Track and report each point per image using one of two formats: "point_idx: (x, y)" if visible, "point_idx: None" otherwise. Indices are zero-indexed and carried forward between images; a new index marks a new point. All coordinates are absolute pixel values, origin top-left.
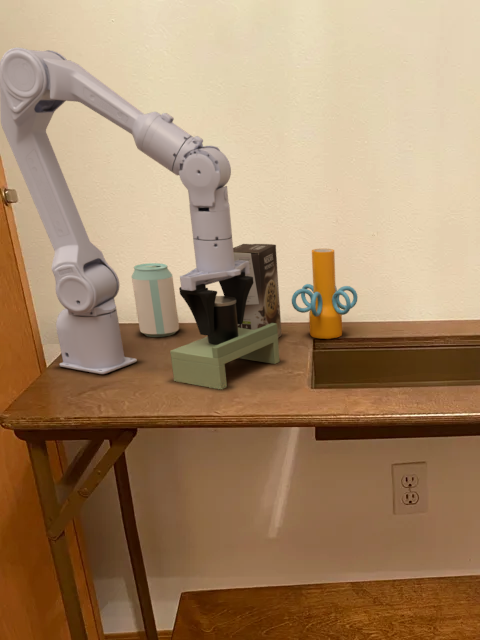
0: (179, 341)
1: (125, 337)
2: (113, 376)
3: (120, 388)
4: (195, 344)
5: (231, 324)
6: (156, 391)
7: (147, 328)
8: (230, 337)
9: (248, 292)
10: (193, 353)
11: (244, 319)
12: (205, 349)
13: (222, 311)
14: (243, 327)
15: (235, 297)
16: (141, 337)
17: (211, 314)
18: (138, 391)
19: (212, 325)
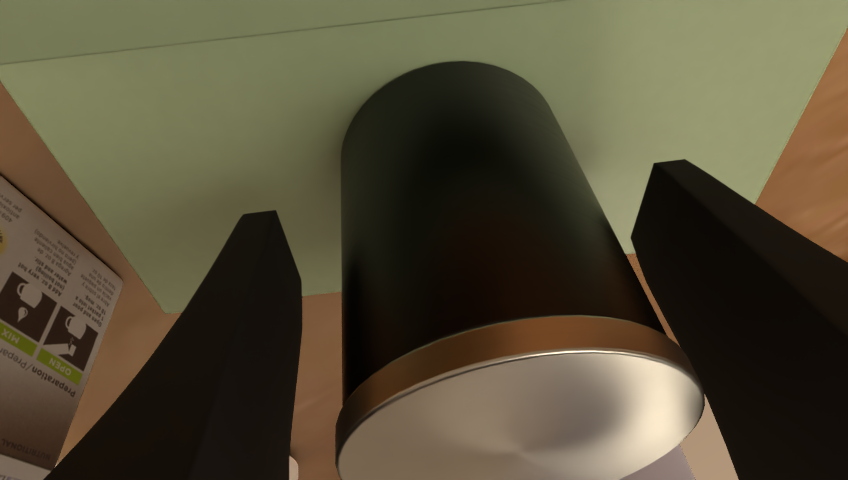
0: None
1: (334, 468)
2: (657, 305)
3: (780, 220)
4: None
5: (516, 159)
6: (812, 104)
7: (294, 477)
8: (511, 95)
9: (66, 472)
10: (784, 118)
11: (11, 356)
12: (678, 121)
13: (633, 286)
14: (40, 320)
15: (248, 451)
16: (305, 456)
17: (818, 272)
18: (814, 156)
19: (724, 203)
